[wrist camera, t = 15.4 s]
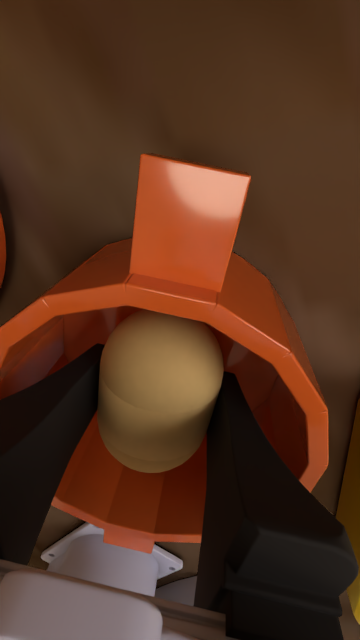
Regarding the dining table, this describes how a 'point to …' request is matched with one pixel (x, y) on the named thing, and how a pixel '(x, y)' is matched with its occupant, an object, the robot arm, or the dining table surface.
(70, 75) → the dining table surface
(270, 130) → the dining table surface
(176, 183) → the pot
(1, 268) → the pot lid
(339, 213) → the dining table surface
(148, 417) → the potato
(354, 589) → the yellow square tin
